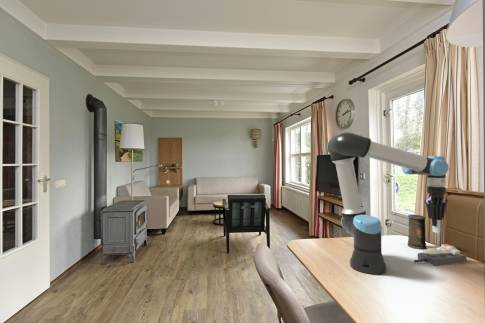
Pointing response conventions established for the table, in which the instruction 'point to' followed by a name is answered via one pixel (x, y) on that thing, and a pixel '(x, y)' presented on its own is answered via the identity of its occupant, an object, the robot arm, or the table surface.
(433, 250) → the rocker
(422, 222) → the container
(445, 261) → the rocker switch panel
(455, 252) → the rocker
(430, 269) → the table surface
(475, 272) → the table surface
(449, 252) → the rocker
